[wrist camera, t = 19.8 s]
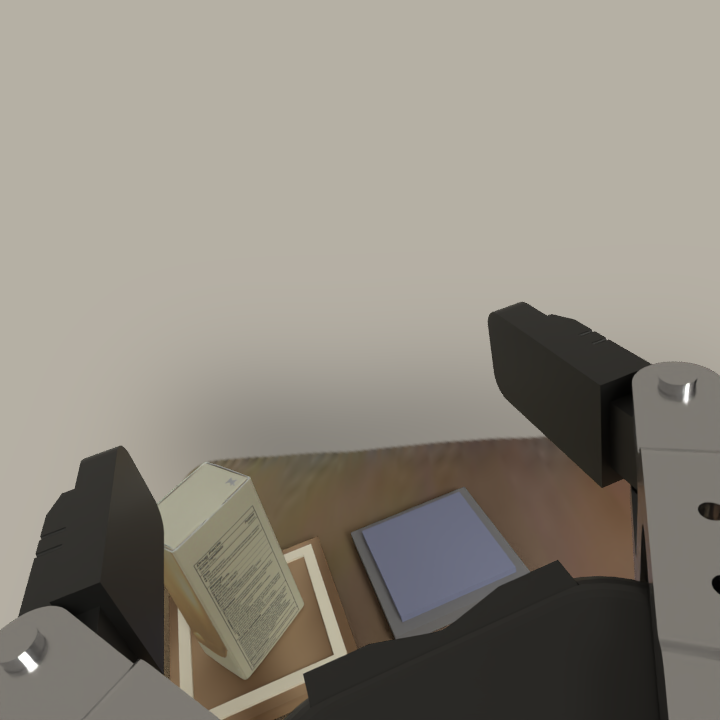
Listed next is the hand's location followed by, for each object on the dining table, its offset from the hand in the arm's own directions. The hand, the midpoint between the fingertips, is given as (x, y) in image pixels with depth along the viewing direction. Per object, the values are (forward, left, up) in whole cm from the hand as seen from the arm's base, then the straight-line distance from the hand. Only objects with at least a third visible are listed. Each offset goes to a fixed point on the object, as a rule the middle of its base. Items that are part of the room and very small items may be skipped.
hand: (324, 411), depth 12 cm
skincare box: (+7, -18, -26) cm, 33 cm away
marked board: (+7, -18, -27) cm, 33 cm away
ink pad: (-7, -18, -27) cm, 33 cm away
